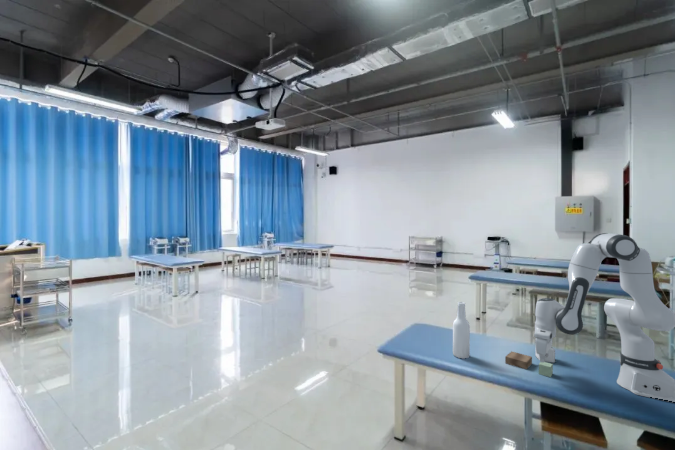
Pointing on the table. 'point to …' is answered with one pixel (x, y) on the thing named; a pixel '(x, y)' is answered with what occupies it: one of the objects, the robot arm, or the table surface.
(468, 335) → the alcohol
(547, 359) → the medicine bottle
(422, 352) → the table surface
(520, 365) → the walnut block
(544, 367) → the sage green block
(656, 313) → the robot arm
